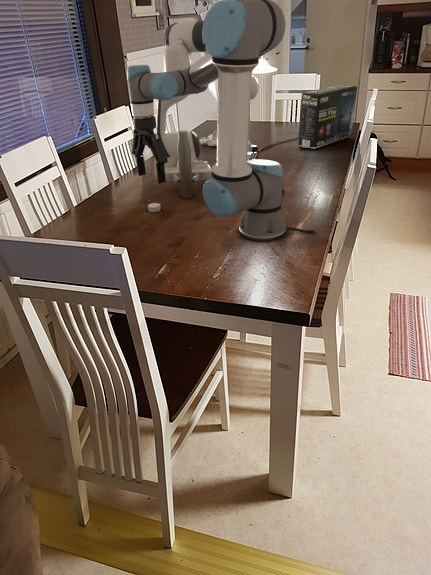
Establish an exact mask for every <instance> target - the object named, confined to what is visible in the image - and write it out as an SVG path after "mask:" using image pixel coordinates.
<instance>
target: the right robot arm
mask: <svg viewBox="0 0 431 575" xmlns="http://www.w3.org/2000/svg"><path fill="white" fill-rule="evenodd" d="M203 21H204V23H203V28H202V38H203V43H204V45H206V47H205V49H206V50H207V52H208V53H207V54H206V55H205V56H202V57H201V58H199V59H198V60H197V61H195V62H194V63H193V64H191V66H190V67H188V68H187V69H184V70H177V71H169V72H164V71H163V72H152V71H151V67H150V65H149V64H135V65H133V64H132V65H129V66H127V68H126V75H127V79H126V80H127V86H128V91H129V98H130V99H129V100H130V106H131V113H132V114H131V115H132V116H133V118H132V122H133V128H134V129H133V130H132V133H133V138H132V147H131V154H132V155H134V157H135V158H136V166H137V167H136V168H137V174H138V176H139V177H141V176H146V175H147V171H146V165H145V157H144V156H145V155H144V151H145V149H146V147H147V148H149V150H150V151H151V154H152V156H153V157H154V159H155V162H156V163H155V168H156V176H157V184H164V183H166V182H167V181H166V178H165V168H166V167H165V165H166V163H168V162H169V160H168V158H167V157H166V154H165V151H164V148H163V145H162V142H161V138H160V134H159V133H156V132H155V131H154V130H155V129H156V121H157V116H155V114H156V111H155V110H156V109H155V103H154V102H155V100H161V101H163V100H171V99H172V98H173V97H178V96H183V95H188V96H189V95H199V94H201V93H203V92H205V91H206V90H208V89H209V84H210V83H212V82H213V81H215V80H216V79H218V103H217V118H216V120H217V121H216V125H217V126H216V130H217V146H216V158H217V160H216V163H214V164H213V165H212V166H211V179H208V180H205V182H204V183H203V185H202V196H203V200H204V202H205V204H206V206H207V207H208V210H209V211H210V212H211V213H212V214H213V215H215V216H217V217H219V218H229V217H233V216H236V215H237V214H239V213H242V215H241V217H240V222H239V226H238V232H239V235H240V236H241V237H242V238H244V239H247V240H250V241H254V242H271V241H277V240H279V239H281V238H283V237H285V235H286V234H287V230H288V231H294V232H300V233H305V234H314V233H315V230H314V229H303V228H302V229H301V228H297V227H290V226H287V223H286V221H285V216H284V214H283V210H282V200H283V194H282V189H283V183H284V174H283V173H284V172H283V171H284V169H283V165H282V164H281V163H280V162H278V161H274V160H270V159H260V158H257V159H256V158H255V159H252V160H247V157H248V140H249V138H250V136H249V135H250V118H251V117H250V116H251V82H252V76H253V71H254V69H256V68H257V66H258V65H259V63H260V58H261V57H263V56H265V55H266V54H268V53H269V52H271V51H272V50H274V49H275V48H277V47H278V46H279V45H280V43H281V42H282V41H283V39H284V37H285V33H286V28H287V27H286V26H287V23H286V22H287V21H286V17H285V14H284V11H283V9H282V8H281V6H279V5H278V3H276V2H275V1H273V0H219V1H217V2H215V3H213V4H212V6H211V7H210V9H209V10H208V11H207V12H206V14H205V16H204V19H203ZM156 140H157V141H156Z"/></svg>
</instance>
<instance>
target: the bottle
mask: <svg viewBox="0 0 431 575" xmlns="http://www.w3.org/2000/svg"><path fill="white" fill-rule="evenodd" d="M187 131H188V130H184V129H182V130H178V131H177V132H178V136H179V139H178V143H177V144H178V145H177V153H178V156H177V163H178V166H179V179H180V182H179V189H180V190H179V191H180V198H182V199H191V198H194V182H192V164H191V148H190V143H189V140H188V136H187Z"/></svg>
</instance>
